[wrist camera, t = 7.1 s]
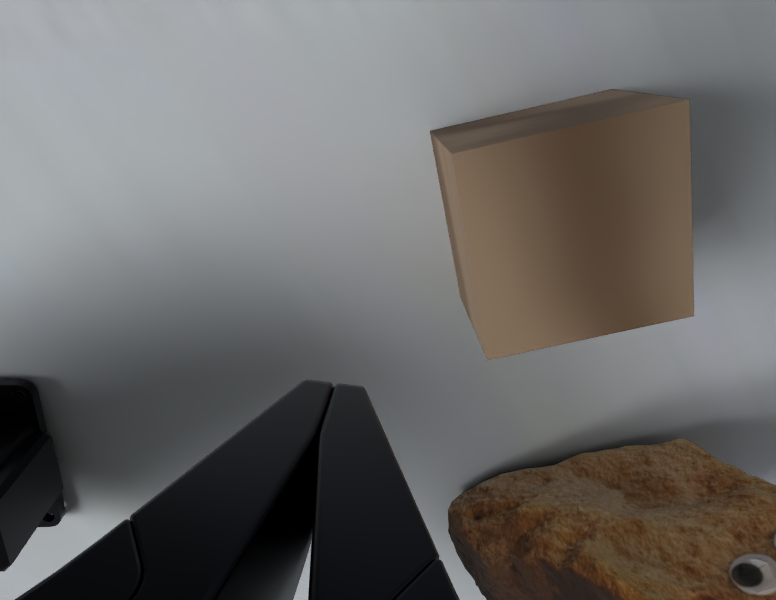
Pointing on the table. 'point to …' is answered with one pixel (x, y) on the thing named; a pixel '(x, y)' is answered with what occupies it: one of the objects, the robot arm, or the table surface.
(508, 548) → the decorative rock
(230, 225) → the table surface
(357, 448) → the robot arm
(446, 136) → the walnut block
